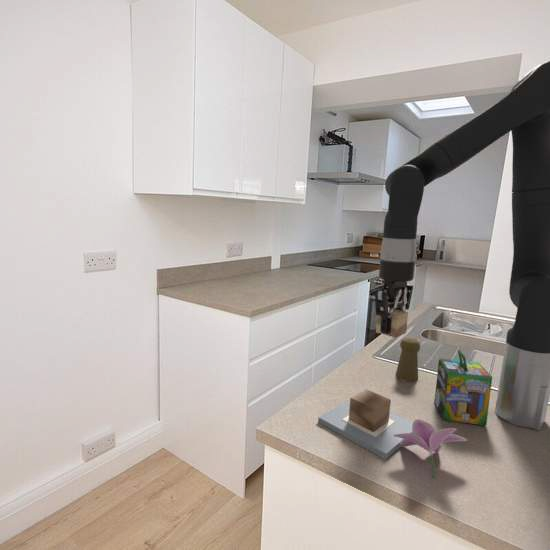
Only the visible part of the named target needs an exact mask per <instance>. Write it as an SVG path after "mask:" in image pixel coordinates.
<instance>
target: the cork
mask: <svg viewBox="0 0 550 550" xmlns="http://www.w3.org/2000/svg"><path fill="white" fill-rule="evenodd" d="M400 349H401V352H400V356H399V360H398V364H397V368H396V371H395V377H396V378H397V379H399V380H401V381H404V380H405V382H410V383H411V382H416V381H418V380H419V365H418V361H419V360H418V357H419V356H418V352H420V349H421V342H420V341H419V340H417V339H416V338H411V337H404V338H402V339H401V341H400Z"/></svg>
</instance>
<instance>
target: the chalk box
mask: <svg viewBox="0 0 550 550" xmlns="http://www.w3.org/2000/svg"><path fill="white" fill-rule="evenodd" d="M457 353H458V358H459V359H455V358H451V359H450V358H443V357H441V358H439V359H438V366H437V377H436V382H435V384H436V386H435V394H434V398H433V399H434V400H433V401H434V404H435V406H436V409H437V410H438V412H439V415H440V417H441V419H442V421H449V422H453V423H454V422H456V423H465V424H472V425H477V426H478V425H480V426H487V423H488V415H489V405H490V400H491V399H490V398H491V391H492V384H493V383H492V382H493V375H491V374H490V373H489V372H488V370H487V369H486V368H485V367H483V365H482V364H481V363H479V362H478V361H472V360H471V361H470V360H466V356H465V354H464V353H463V352H462V350H461V349H459V348H458V349H457Z"/></svg>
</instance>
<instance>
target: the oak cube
mask: <svg viewBox="0 0 550 550" xmlns="http://www.w3.org/2000/svg"><path fill="white" fill-rule="evenodd" d="M388 312H389V308H388ZM408 318H409V311H406V312H405V311H400V310H395V309H394V311H393V315H392V322H391V333H390V334H385V333H381V331H380V329H381V316H379V315H376V327H375V330H376V331H375V333H377V334H381V335H385V336H389V337H392V338H398V337H401V336H402V335H405V334H407V328H408Z"/></svg>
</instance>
